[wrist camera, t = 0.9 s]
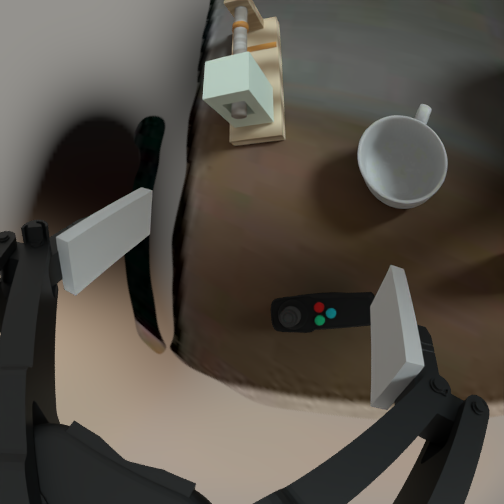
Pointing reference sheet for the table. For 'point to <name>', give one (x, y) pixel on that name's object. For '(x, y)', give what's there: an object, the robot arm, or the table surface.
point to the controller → (321, 311)
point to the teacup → (402, 159)
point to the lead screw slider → (270, 62)
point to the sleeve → (238, 89)
